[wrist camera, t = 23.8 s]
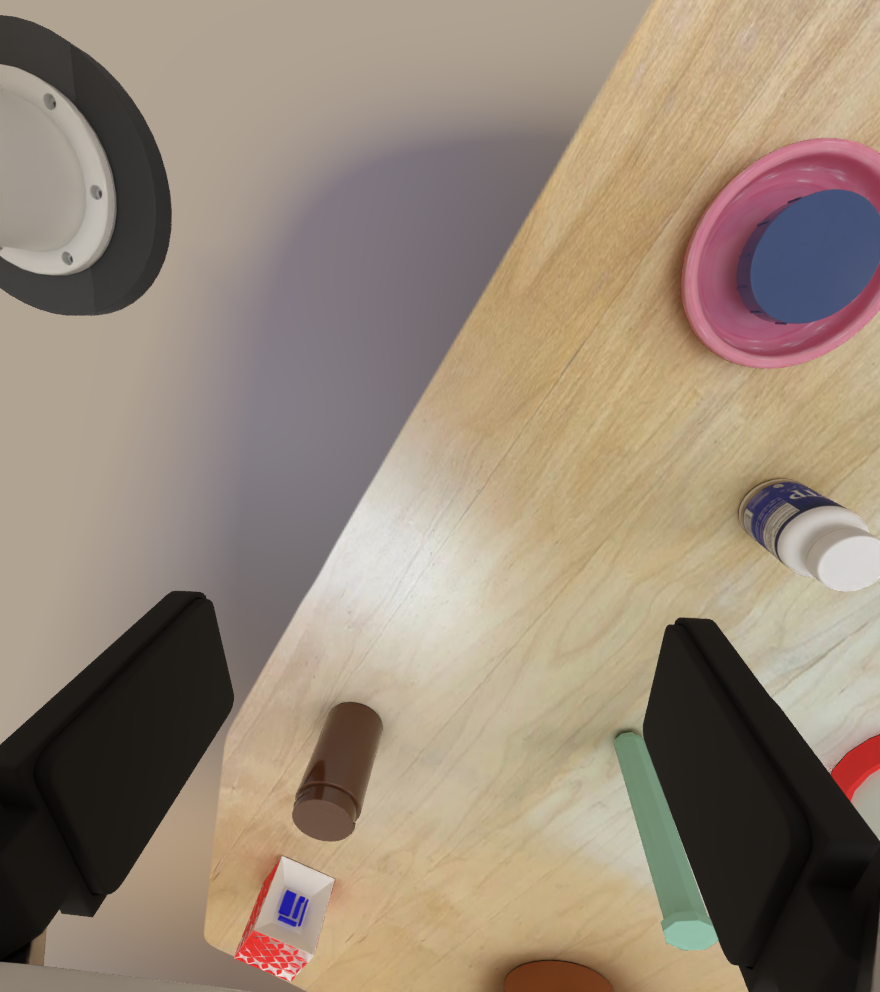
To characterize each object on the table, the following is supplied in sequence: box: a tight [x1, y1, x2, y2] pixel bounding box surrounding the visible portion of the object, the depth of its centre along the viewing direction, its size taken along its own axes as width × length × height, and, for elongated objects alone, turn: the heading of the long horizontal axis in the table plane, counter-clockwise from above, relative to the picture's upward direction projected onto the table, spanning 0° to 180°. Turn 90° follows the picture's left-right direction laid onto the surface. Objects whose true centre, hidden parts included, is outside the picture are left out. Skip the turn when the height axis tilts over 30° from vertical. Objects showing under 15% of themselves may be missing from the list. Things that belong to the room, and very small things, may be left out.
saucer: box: [681, 138, 880, 369], centre depth 29 cm, size 12×12×3 cm
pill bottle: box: [739, 479, 880, 592], centre depth 32 cm, size 5×5×9 cm
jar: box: [292, 703, 383, 841], centre depth 45 cm, size 6×6×10 cm
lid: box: [736, 189, 880, 325], centre depth 26 cm, size 7×7×2 cm
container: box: [614, 732, 719, 950], centre depth 39 cm, size 4×4×16 cm
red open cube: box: [234, 856, 335, 982], centre depth 58 cm, size 8×8×8 cm
